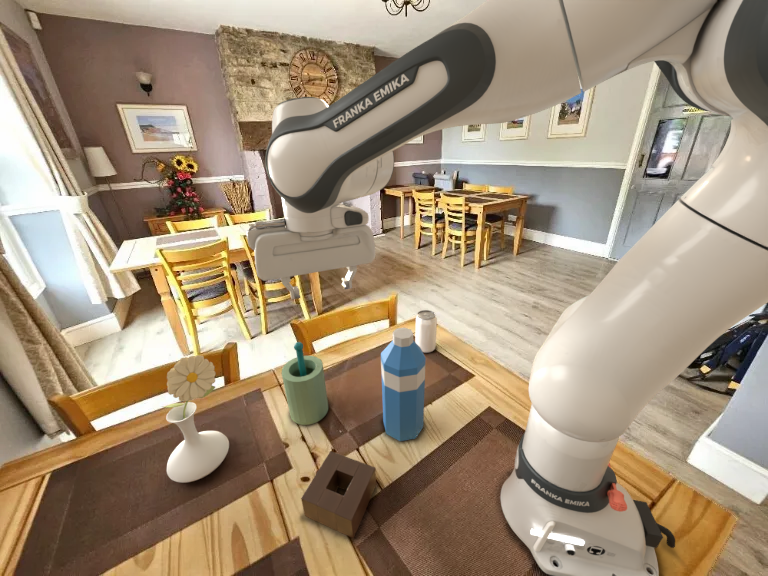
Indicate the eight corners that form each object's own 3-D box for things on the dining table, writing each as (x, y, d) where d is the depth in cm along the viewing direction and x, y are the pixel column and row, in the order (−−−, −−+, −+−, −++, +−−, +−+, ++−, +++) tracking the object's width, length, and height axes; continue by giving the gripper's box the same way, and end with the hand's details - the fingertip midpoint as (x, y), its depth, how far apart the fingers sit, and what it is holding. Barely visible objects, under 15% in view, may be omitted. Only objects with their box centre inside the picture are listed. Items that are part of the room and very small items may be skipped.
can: (424, 339, 103) (425, 307, 98) (439, 347, 99) (441, 314, 94) (410, 346, 99) (411, 314, 94) (425, 356, 95) (427, 322, 90)
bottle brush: (316, 404, 77) (306, 340, 69) (310, 412, 75) (299, 347, 67) (307, 401, 78) (296, 338, 70) (300, 409, 76) (288, 345, 68)
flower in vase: (169, 500, 58) (118, 398, 47) (168, 454, 66) (125, 359, 56) (243, 463, 64) (213, 366, 54) (233, 425, 73) (205, 336, 62)
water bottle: (421, 444, 67) (424, 349, 56) (379, 438, 69) (374, 344, 58) (424, 411, 75) (428, 322, 65) (387, 406, 77) (384, 319, 67)
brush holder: (376, 484, 59) (375, 467, 57) (353, 538, 51) (351, 520, 49) (332, 467, 63) (330, 450, 60) (304, 516, 55) (301, 498, 52)
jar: (335, 401, 79) (330, 360, 73) (314, 429, 71) (307, 385, 66) (304, 392, 82) (297, 352, 77) (282, 418, 74) (272, 375, 69)
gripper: (243, 227, 44) (262, 312, 50) (377, 212, 51) (380, 288, 57) (243, 219, 49) (260, 297, 55) (364, 206, 56) (368, 277, 62)
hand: (322, 292), depth 56 cm, fingers open, 8 cm apart
